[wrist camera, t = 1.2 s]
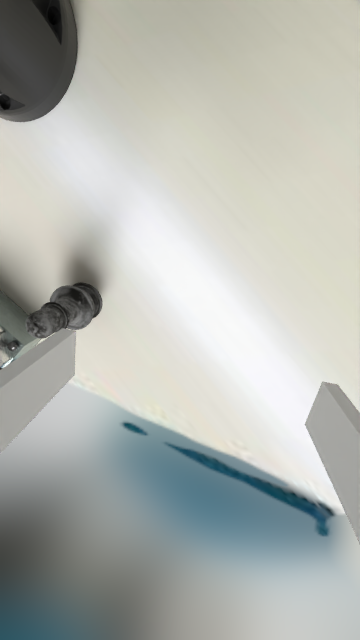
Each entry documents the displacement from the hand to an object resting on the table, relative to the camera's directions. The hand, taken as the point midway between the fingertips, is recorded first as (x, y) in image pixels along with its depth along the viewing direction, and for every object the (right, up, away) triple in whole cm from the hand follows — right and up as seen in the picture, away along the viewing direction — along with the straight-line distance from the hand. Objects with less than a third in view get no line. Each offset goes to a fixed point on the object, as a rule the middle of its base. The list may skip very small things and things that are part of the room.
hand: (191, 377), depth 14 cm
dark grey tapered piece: (-14, +6, +24) cm, 28 cm away
